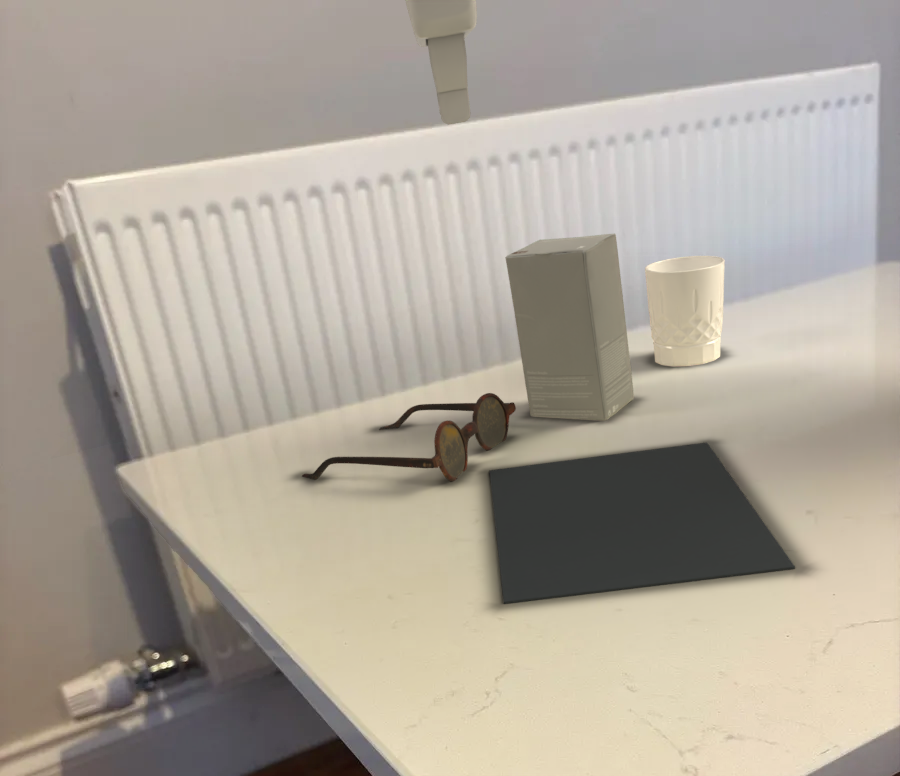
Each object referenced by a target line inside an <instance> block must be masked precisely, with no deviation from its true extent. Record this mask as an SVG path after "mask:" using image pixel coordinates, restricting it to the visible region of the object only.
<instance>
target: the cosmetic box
mask: <svg viewBox="0 0 900 776" xmlns="http://www.w3.org/2000/svg"><path fill="white" fill-rule="evenodd" d="M505 264H506V270H507V275H508V281H509V288H510V293H511V294H510V295H511V299H512V306H513V311H514V318H515V326H516V333H517V338H518V344H519V345H518V346H519V350H520V351H519V352H520V357H521V358H520V359H521V364H522V370H523V371H522V372H523V377H524V383H525V390H526V395H527V401H528V409H529V416H530V417H535V418H549V419H567V420H582V421H583V420H584V421H597V422H599V421H600V422H606V421H608V420H609V419H610V418H612V417H613V416H614V415H616V414H617V413H618V412H619V411H621V410H622V409H623V408H625V407H626V406H627V405H628V404H629V403H630V402H632V401H634V398H635V393H634V385H633V384H634V383H633V374H632V366H631V357H630V356H631V355H630V347H629V339H628V338H629V337H628V330H627V321H626V313H625V312H626V311H625V303H624V295H623V284H622V276H621V268H620V267H621V266H620V259H619V249H618V242H617V233H606V234H605V233H604V234H596V235H595V234H594V235H586V236H585V235H584V236H574V237H561V238H545V239H538V240H537V241H534V242H532V243H530V244H528V245H526V246H524V247H522V248H520V249H518V250H516V251H514V252H512V253H510V254H507V255H506V256H505Z"/></svg>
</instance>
